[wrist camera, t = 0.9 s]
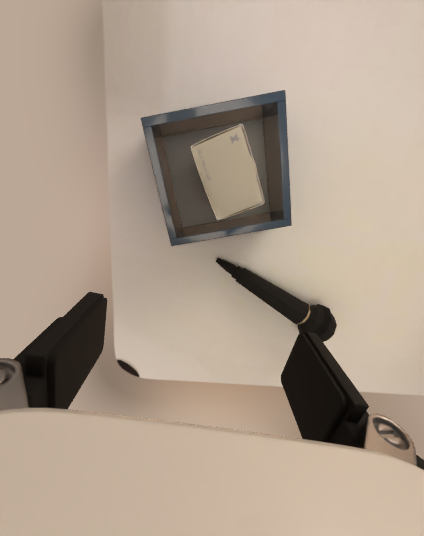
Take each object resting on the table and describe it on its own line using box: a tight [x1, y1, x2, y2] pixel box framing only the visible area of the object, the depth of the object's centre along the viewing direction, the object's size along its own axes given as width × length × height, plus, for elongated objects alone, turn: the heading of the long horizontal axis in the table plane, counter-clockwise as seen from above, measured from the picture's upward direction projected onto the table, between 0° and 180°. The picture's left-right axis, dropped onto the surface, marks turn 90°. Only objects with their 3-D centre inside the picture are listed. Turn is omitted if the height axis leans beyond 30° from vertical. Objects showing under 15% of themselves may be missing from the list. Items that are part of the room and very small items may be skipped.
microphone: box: [216, 258, 337, 342], centre depth 33 cm, size 6×6×20 cm
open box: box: [141, 90, 292, 246], centre depth 26 cm, size 13×14×6 cm
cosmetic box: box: [191, 124, 265, 221], centre depth 24 cm, size 6×4×12 cm
